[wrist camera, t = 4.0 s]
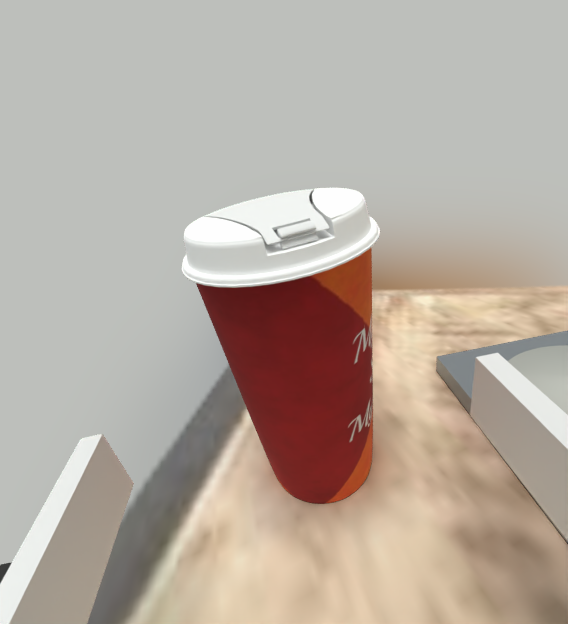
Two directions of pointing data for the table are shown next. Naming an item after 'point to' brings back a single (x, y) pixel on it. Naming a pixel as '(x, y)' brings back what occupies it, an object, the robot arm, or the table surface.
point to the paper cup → (296, 328)
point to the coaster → (525, 358)
